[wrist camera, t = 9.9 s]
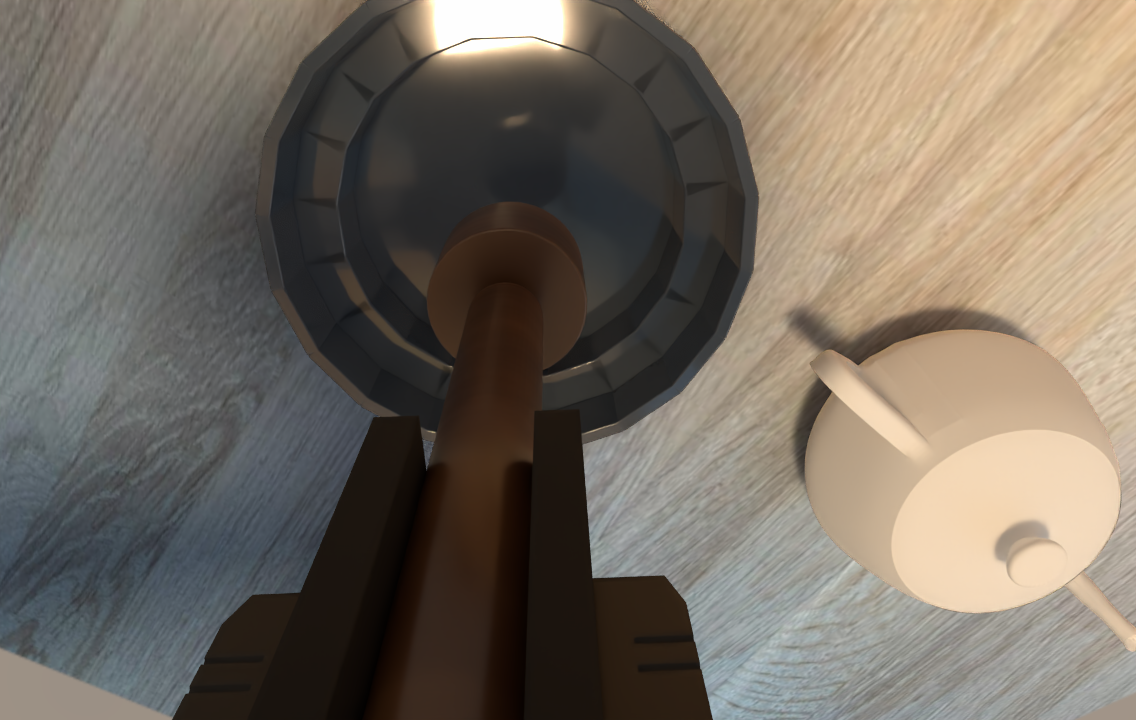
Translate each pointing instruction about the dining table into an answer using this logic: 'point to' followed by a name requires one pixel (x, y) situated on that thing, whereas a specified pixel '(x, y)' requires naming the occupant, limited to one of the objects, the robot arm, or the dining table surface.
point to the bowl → (508, 193)
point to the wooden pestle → (480, 470)
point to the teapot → (966, 473)
